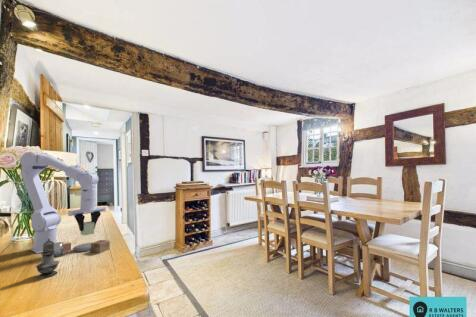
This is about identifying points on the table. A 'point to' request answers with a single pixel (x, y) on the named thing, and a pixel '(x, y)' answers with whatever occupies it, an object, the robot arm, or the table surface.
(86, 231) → the sage block
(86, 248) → the coaster
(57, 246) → the grey tin
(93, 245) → the walnut block
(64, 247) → the terracotta block
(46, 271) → the dark grey tall piece
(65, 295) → the table surface
